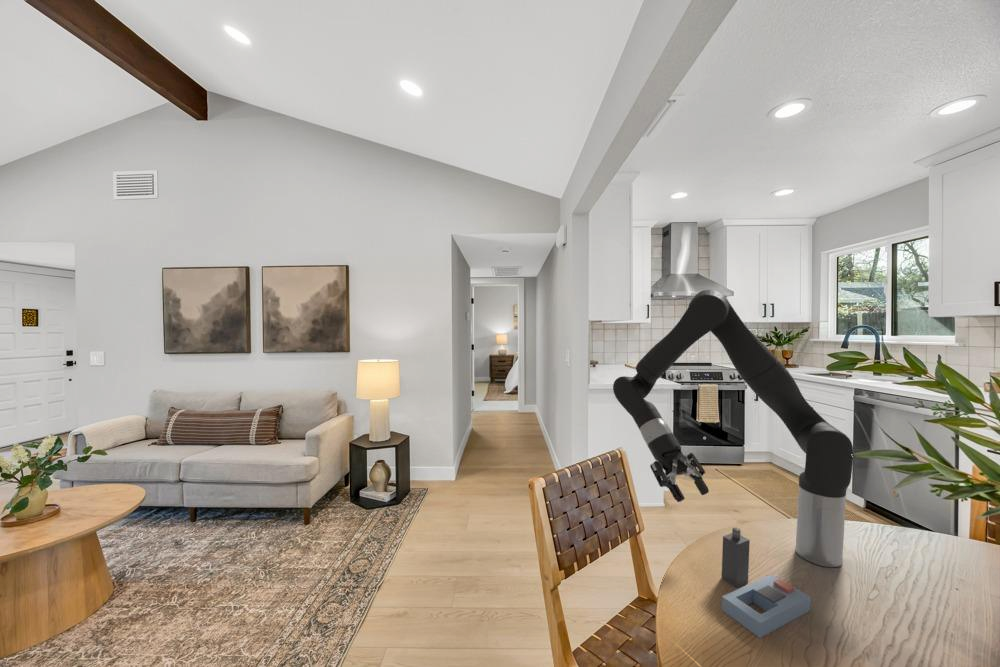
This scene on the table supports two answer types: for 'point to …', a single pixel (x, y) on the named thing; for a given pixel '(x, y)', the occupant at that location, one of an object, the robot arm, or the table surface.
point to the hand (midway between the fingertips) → (693, 497)
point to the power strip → (766, 604)
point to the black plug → (735, 558)
